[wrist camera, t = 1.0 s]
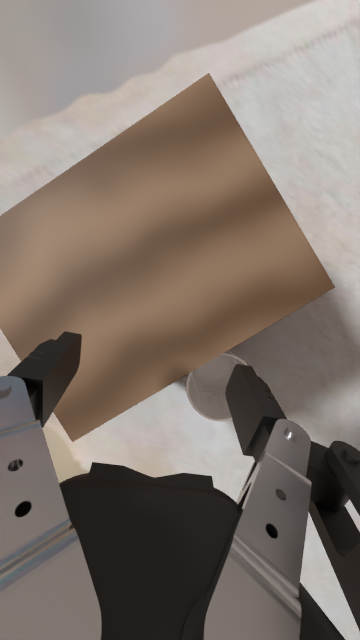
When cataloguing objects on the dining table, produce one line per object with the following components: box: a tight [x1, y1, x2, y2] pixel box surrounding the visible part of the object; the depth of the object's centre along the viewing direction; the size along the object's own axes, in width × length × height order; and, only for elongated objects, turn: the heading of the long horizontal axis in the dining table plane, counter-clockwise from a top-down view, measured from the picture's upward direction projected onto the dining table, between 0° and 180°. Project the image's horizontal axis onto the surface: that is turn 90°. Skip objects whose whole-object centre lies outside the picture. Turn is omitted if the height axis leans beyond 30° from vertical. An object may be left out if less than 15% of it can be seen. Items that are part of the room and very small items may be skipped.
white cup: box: [186, 350, 248, 421], centre depth 31 cm, size 8×8×10 cm
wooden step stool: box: [0, 73, 335, 442], centre depth 26 cm, size 16×21×20 cm
